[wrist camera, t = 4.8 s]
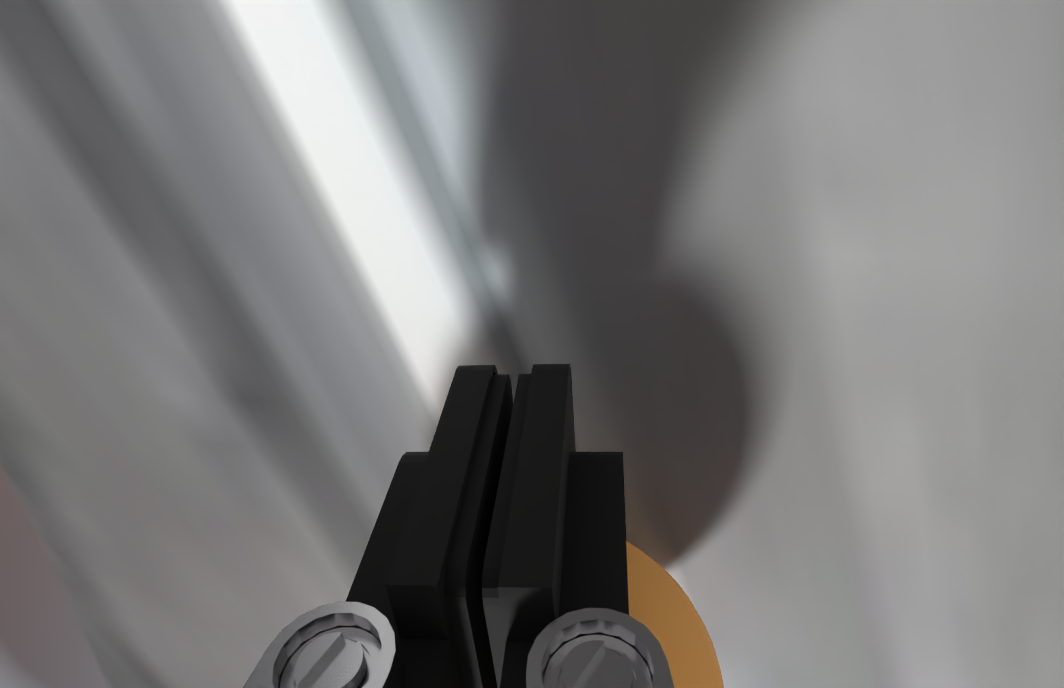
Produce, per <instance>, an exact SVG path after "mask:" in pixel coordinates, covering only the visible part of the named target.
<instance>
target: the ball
mask: <svg viewBox="0 0 1064 688" xmlns="http://www.w3.org/2000/svg"><path fill="white" fill-rule="evenodd" d="M626 548H627V574H628V599H629V616H631V617H633V618H634V619H636V620H637V621H639V622H640V623H642V624H643V625H645V626H646V627H647V628H648V629H649V630H650V632H651V633H652V634H653V635H654V636H655V637H656V639H657V640H658V641H659V642H660V645H661V647H662V649H663V652H664V654H665V656H666V658H667V661H668V665H669V668H670V672H671V676H672V680H673V684H674V688H724V686H723V680H722V675H721V671H720V666H719V663H718V660H717V656H716V653H715V649H714V646H713V643H712V641H711V639H710V636H709V634H708V632H707V630H706V627H705V625H704V623H703V621H702V620H701V618H700V616H699V614H698V613H697V611H696V609H695V608H694V606H693V604H692V603H691V601H690V599H689V598H688V596H687V595H686V594H685V592H684V591H683V590H682V588H681V587H680V586H679V584H678V583H677V582H676V581H675V580H674V579H673V578H672V577H671V576H670V574H669V573H668V572H667V571H666V570H665V569H664V568H663V567H662V566H660V565H659V564H658V563H657V562H656V561H654V560H653V559H652V558H651V557H649V556H648V555H647V554H646V553H644V552H643V551H642V550H641V549H639V548H637V547H636V546H634V545H633V544H631V543H629V542H628V541H626Z"/></svg>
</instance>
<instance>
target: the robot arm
mask: <svg viewBox="0 0 1064 688" xmlns="http://www.w3.org/2000/svg"><path fill="white" fill-rule="evenodd" d="M243 688H674V684H673V680H672V676H671V672H670V668H669V665H668V661H667V658H666V656H665V654H664V652H663V649H662V647H661V645H660V642H659V641H658V640H657V639H656V637H655V636H654V635H653V634H652V633H651V632H650V630H649V629H648V628H647V627H646V626H645V625H643V624H642V623H640V622H639V621H637V620H636V619H634V618H633V617H631V616H629V599H628V574H627V548H626V523H625V497H624V472H623V452H576V450H575V432H574V415H573V397H572V379H571V367H570V364H535V365H533V368H532V374H520V375H519V378H518V383H517V388H516V393H515V399H514V404H513V396H512V387H511V380H510V376H509V374H508V375H498V372H497V369H496V366H495V365H473V366H458V367H457V369H456V372H455V375H454V378H453V381H452V384H451V387H450V390H449V393H448V396H447V399H446V402H445V405H444V408H443V411H442V414H441V417H440V420H439V423H438V426H437V429H436V432H435V435H434V438H433V441H432V444H431V447H430V450H429V452H406V453H405V454H404V455H403V456H402V458H401V460H400V461H399V464H398V466H397V469H396V471H395V474H394V477H393V479H392V482H391V484H390V487H389V490H388V492H387V495H386V498H385V500H384V503H383V505H382V508H381V511H380V513H379V516H378V518H377V521H376V524H375V526H374V529H373V532H372V534H371V537H370V539H369V542H368V545H367V547H366V550H365V552H364V555H363V558H362V560H361V563H360V566H359V568H358V571H357V573H356V576H355V579H354V581H353V584H352V586H351V589H350V592H349V594H348V597H347V599H346V602H335V603H331V604H327V605H323V606H319V607H317V608H315V609H313V610H311V611H309V612H307V613H305V614H303V615H301V616H299V617H298V618H296V619H295V620H294V621H293V622H291V623H290V624H289V625H288V626H286V627H285V628H284V629H283V630H282V631H281V632H280V633H279V634H278V636H277V637H276V638H275V639H274V640H273V642H272V643H271V644H270V645H269V647H268V648H267V650H266V651H265V653H264V654H263V656H262V658H261V659H260V661H259V662H258V664H257V666H256V667H255V669H254V670H253V672H252V674H251V675H250V677H249V678H248V680H247V682H246V683H245V685H244V686H243Z"/></svg>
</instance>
